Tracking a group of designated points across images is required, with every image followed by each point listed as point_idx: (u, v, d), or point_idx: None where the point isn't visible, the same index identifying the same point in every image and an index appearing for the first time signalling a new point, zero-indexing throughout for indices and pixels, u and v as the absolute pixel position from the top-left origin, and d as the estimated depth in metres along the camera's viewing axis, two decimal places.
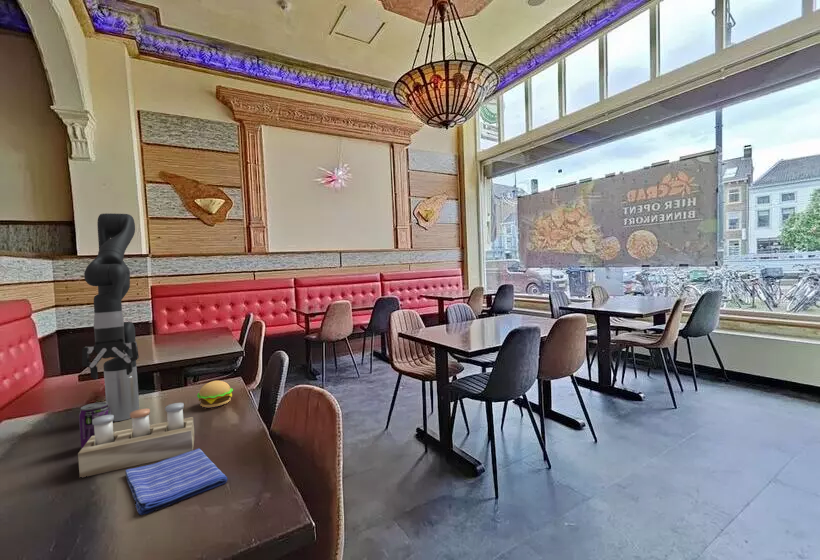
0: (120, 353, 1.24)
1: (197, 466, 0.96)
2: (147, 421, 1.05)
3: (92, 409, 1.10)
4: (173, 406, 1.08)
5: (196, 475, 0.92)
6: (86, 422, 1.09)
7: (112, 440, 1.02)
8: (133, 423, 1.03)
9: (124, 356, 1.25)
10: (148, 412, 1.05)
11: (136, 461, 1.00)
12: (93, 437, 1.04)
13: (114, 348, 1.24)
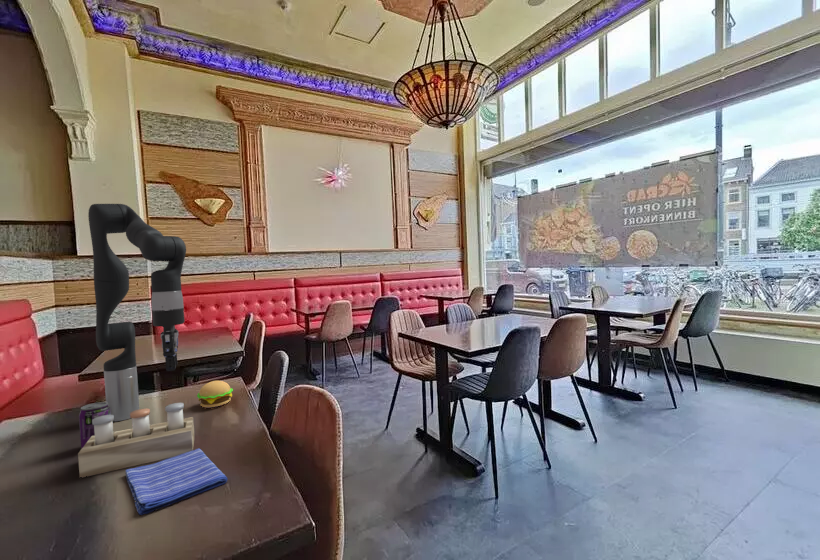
0: (177, 339, 1.11)
1: (197, 466, 0.96)
2: (147, 421, 1.05)
3: (92, 409, 1.10)
4: (173, 406, 1.08)
5: (196, 475, 0.92)
6: (86, 422, 1.09)
7: (112, 440, 1.02)
8: (133, 423, 1.03)
9: None
10: (148, 412, 1.05)
11: (136, 461, 1.00)
12: (93, 437, 1.04)
13: None
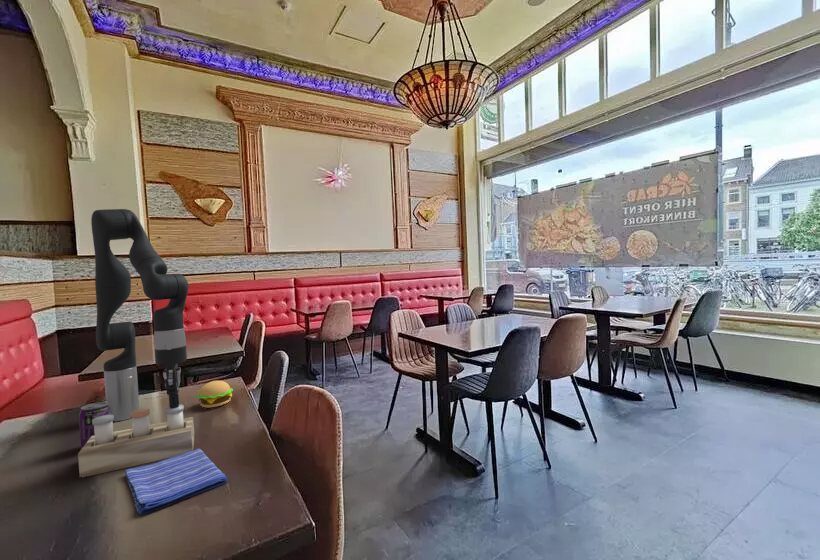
0: None
1: (197, 466, 0.96)
2: (147, 421, 1.05)
3: (92, 409, 1.10)
4: (173, 408, 1.08)
5: (196, 475, 0.92)
6: (86, 422, 1.09)
7: (112, 440, 1.02)
8: (133, 423, 1.03)
9: None
10: (148, 412, 1.05)
11: (136, 461, 1.00)
12: (93, 437, 1.04)
13: (180, 369, 1.11)
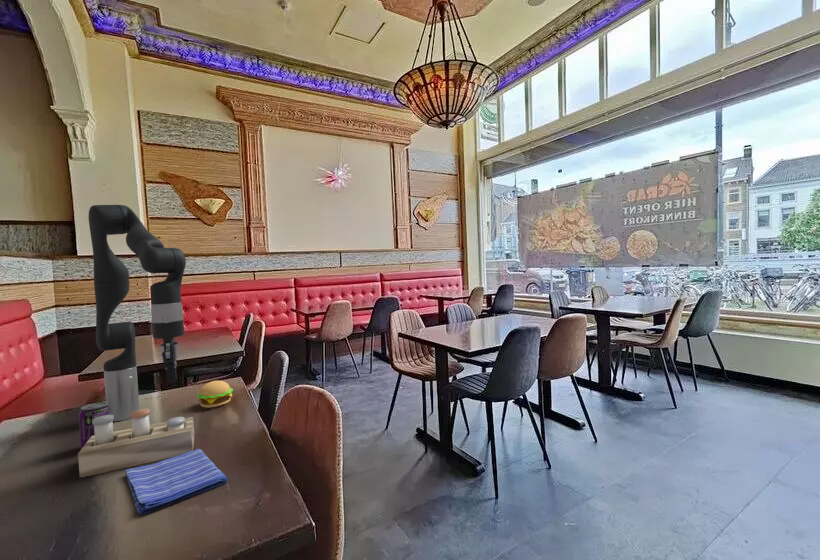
0: (177, 352, 1.10)
1: (197, 466, 0.96)
2: (147, 421, 1.05)
3: (92, 409, 1.10)
4: (174, 420, 1.08)
5: (196, 475, 0.92)
6: (86, 422, 1.09)
7: (112, 440, 1.02)
8: (133, 423, 1.03)
9: None
10: (148, 412, 1.05)
11: (136, 461, 1.00)
12: (93, 437, 1.04)
13: None
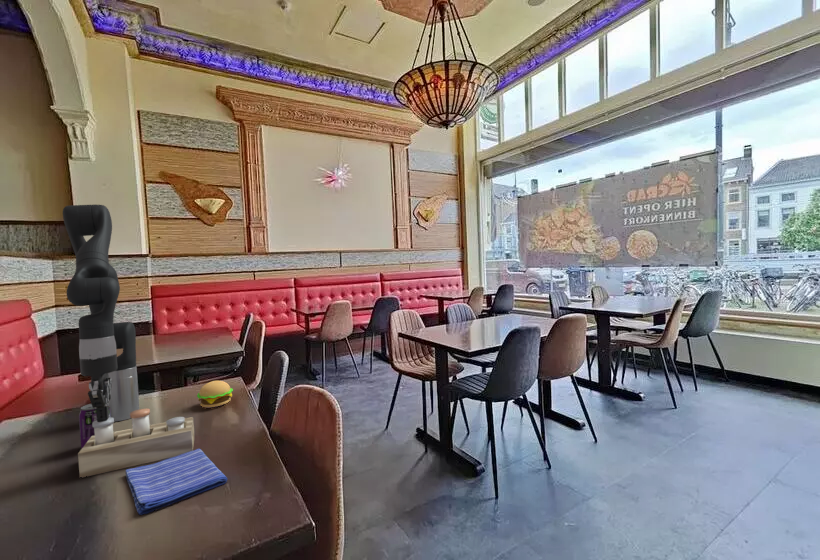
0: (110, 388, 1.03)
1: (197, 466, 0.96)
2: (147, 421, 1.05)
3: (92, 409, 1.10)
4: (174, 420, 1.08)
5: (196, 475, 0.92)
6: (86, 422, 1.09)
7: None
8: (133, 423, 1.03)
9: (109, 394, 1.03)
10: (148, 412, 1.05)
11: (136, 461, 1.00)
12: (93, 437, 1.04)
13: (110, 379, 1.03)
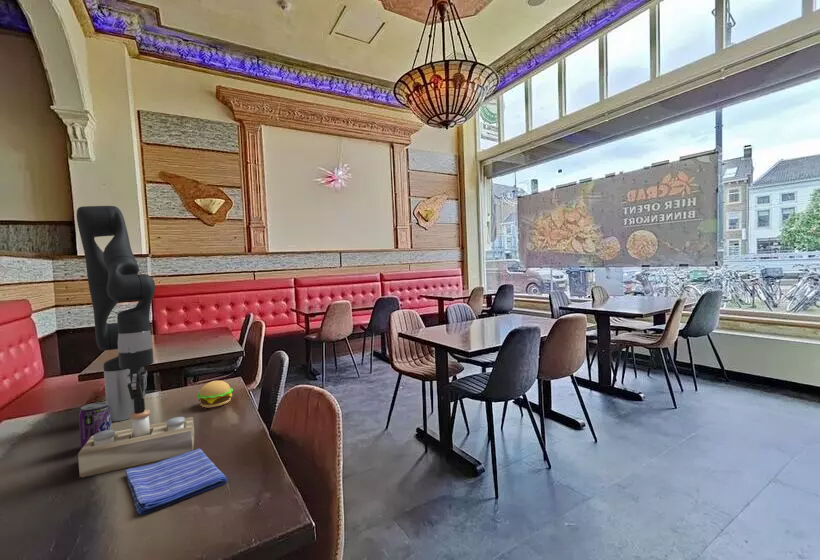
0: (146, 381, 1.07)
1: (197, 466, 0.96)
2: (147, 422, 1.05)
3: (92, 409, 1.10)
4: (174, 420, 1.08)
5: (196, 475, 0.92)
6: (86, 422, 1.09)
7: None
8: (133, 424, 1.03)
9: (145, 387, 1.07)
10: (148, 413, 1.05)
11: (136, 461, 1.00)
12: None
13: (146, 372, 1.07)
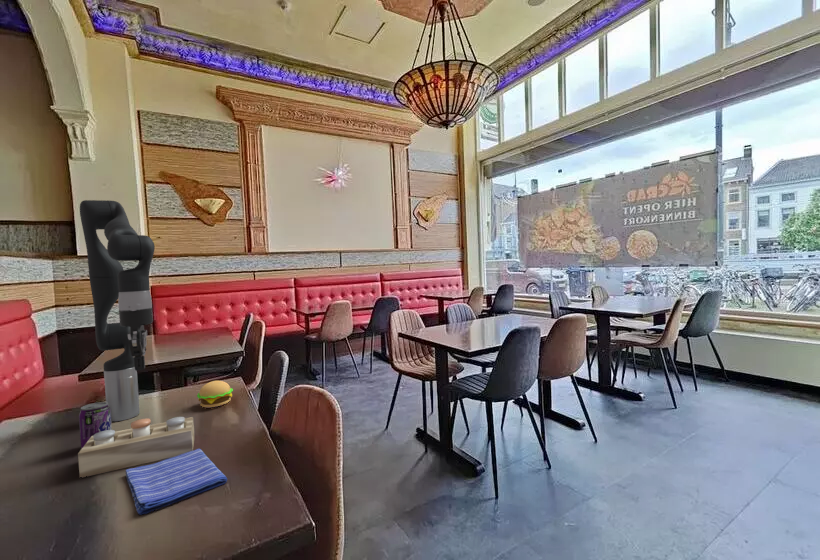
0: None
1: (197, 466, 0.96)
2: (148, 431, 1.05)
3: (92, 409, 1.10)
4: (174, 420, 1.08)
5: (196, 475, 0.92)
6: (86, 422, 1.09)
7: None
8: (134, 433, 1.03)
9: (145, 345, 1.10)
10: (149, 422, 1.05)
11: (136, 461, 1.00)
12: None
13: (146, 332, 1.10)
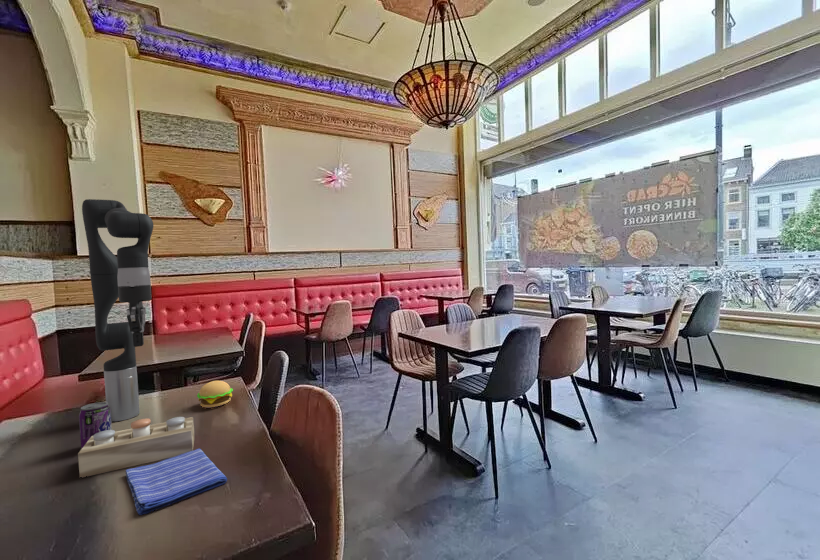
0: (144, 317, 1.11)
1: (197, 466, 0.96)
2: (148, 431, 1.05)
3: (92, 409, 1.10)
4: (174, 420, 1.08)
5: (196, 475, 0.92)
6: (86, 422, 1.09)
7: None
8: (134, 433, 1.03)
9: (144, 322, 1.11)
10: (149, 422, 1.05)
11: (136, 461, 1.00)
12: None
13: (145, 309, 1.11)
